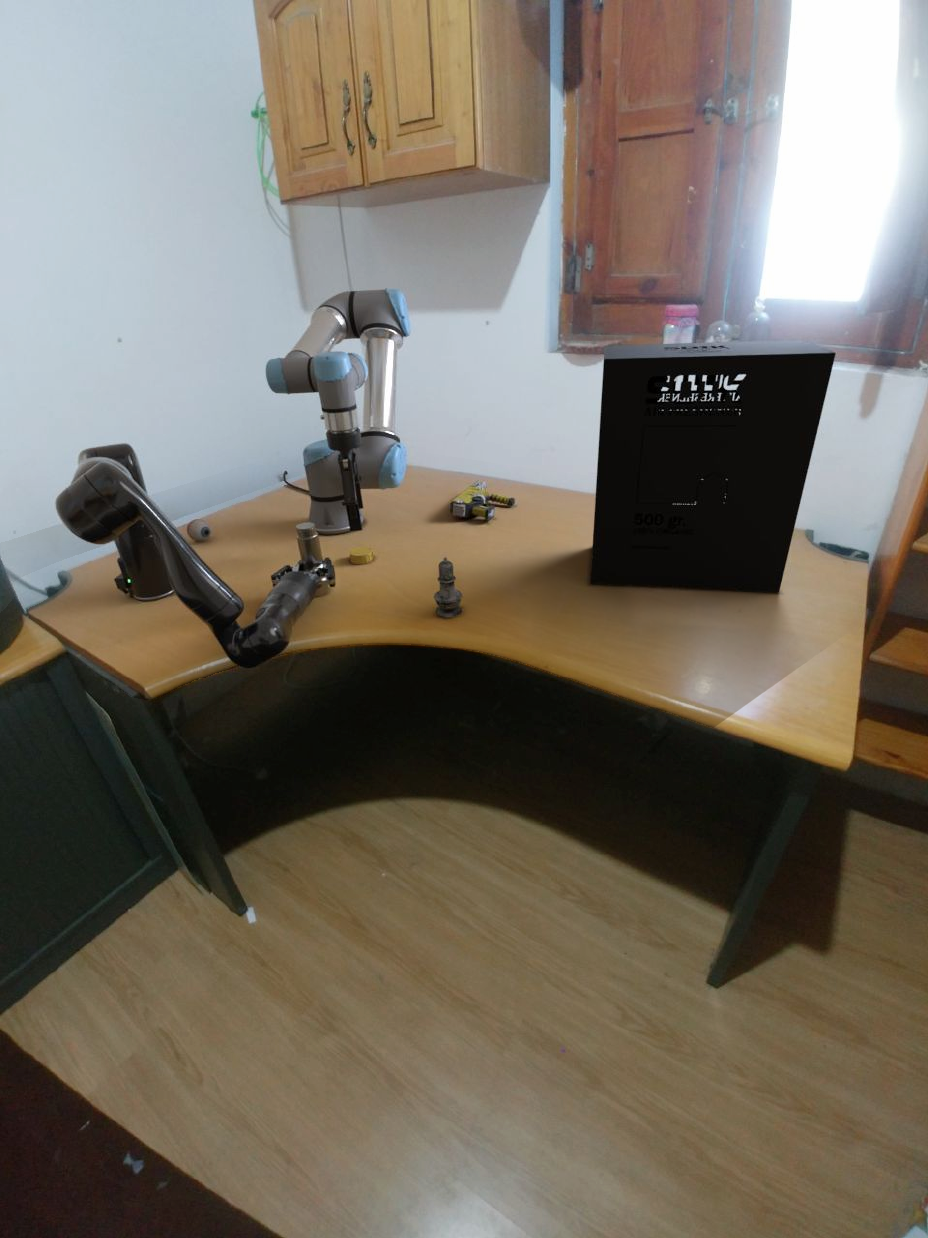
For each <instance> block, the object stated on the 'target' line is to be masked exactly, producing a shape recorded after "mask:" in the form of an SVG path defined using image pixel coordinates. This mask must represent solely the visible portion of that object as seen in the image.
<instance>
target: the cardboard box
mask: <svg viewBox="0 0 928 1238" xmlns="http://www.w3.org/2000/svg"><path fill="white" fill-rule="evenodd" d="M603 351H604V352H603V365H602V367H603V368H602V384H601V385H602V386H601V399H600V413H599V415H600V417H599V418H600V419H599V433H598V448H597V449H598V450H597V466H596V483H595V498H594V499H595V500H594V514H593V515H594V517H593V531H592V532H593V533H592V534H593V535H592V548H591V566H590V567H591V568H590V585H603V586H605V585H606V586H624V587H625V586H626V587H627V586H628V587H645V588H646V587H649V588H667V589H668V588H669V589H670V588H671V589H688V590H689V589H692V590H713V591H731V592H733V591H734V592H735V591H736V592H755V593H756V592H757V593H776V594H777V593H778V594H779V593H780V589H781V586H782V581H783V577H784V574H785V573H784V572H785V569H786V565H787V560H788V558H789V557H788V556H789V552H790V547H791V545H792V544H791V543H792V540H793V535H794V531H795V526H796V522H797V519H798V515H799V510H800V505H801V502H802V498H803V494H804V490H805V484H806V481H807V476H808V472H809V468H810V463H811V459H812V455H813V452H814V448H815V441H816V439H817V434H818V430H819V425H820V420H821V417H822V413H823V409H824V406H825V405H824V404H825V401H826V396H827V392H828V388H829V383H830V380H831V375H832V371H833V367H834V363H835V358H836V354H837V353H836V352H835V351H833V350H830V349H828V348H826V347H823V346H821V345H818V344H815V343H813V342H811V341H808V340H806V339H804V338H803V339H774V340H745V341H744V340H742V341H718V342H717V341H714V342H713V341H711V342H708V341H707V342H684V343H683V342H682V343H681V342H680V343H679V342H678V343H649V344H647V343H646V344H619V345H617V344H616V345H604V349H603ZM740 375H742V376H743V375H745V376H744V377H743V378H742V379H737V378H738V376H740ZM680 376H682V380H681V382H680V388H679V390H676V386H677V380H676V379H677V377H680ZM690 376H694V383H693V382H692V381H693V380H689V379H690ZM704 376H706V380H703V378H704ZM721 378H722V379H721ZM726 378H727V382H726V386H727V387H731V386H737V387H736V388H735V389H726V388H725V381H726ZM720 384H721V385H720ZM693 386H696V389H692V387H693ZM706 386H711V389H709V390H708V389H705V388H706ZM663 388H667V390H663Z"/></svg>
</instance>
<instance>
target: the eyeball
mask: <svg viewBox="0 0 928 1238" xmlns="http://www.w3.org/2000/svg"><path fill="white" fill-rule="evenodd" d="M186 533H187V535H188V537H189V538H190V539H191V540H192V541H194V542H205V541H207V540H208V539H209V538H210V537H211V534H212V527H211V524H210V523H209V522H207V520H204V519H201V518H195V519H193V520H191V521H190V522H189V523H187V527H186Z"/></svg>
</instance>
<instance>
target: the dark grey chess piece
mask: <svg viewBox="0 0 928 1238" xmlns="http://www.w3.org/2000/svg"><path fill="white" fill-rule="evenodd" d="M454 573H455V572H454V563H452V561H450V560H448V558H447V557H446V556H445V557H443V560H442V561H440V562H439V564H438V577H437V581H438V583H439V590H438V591H436V592H435V593H434V594H433V599H434V601H435V605H437V606H438V607H437V608H436V610H435V613H436V615H437V616H439V617H442V618H454V617H457V616H459V615H461V614H462V611H463V608H462V607H461V606H460V604H461V601H462V598H463V592H462V591H460V589H456V583H455V581H456V579H457V577H456V576H455V575H454Z"/></svg>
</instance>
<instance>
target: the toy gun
mask: <svg viewBox="0 0 928 1238" xmlns="http://www.w3.org/2000/svg"><path fill="white" fill-rule="evenodd" d="M486 487H487V482H486V481H485V480H483V481H482V482H481V480H477V481H476V482H474V483H473V484H472V485H469V486H468V487H467V488H466V489H465V490H463V491H462V492H461V493H460V494H459V495H457V496H456V497H455V498H454V499H453V500H451V502H450V503H449V504H450V505H449V513H450V515H451V516H454V518H458V519H459V518H460V519H461V518H471V517H474V516H477V517H481V518H485V521H487V522H488V521H490V520H491V519H493V518H494V517H495V511H496V509H495V508H496V507H495V506H494V505H492V504H491V505H490V506H489V505H488V504H487V503H489V502H490V501H491V502H492V503H499V504H502V505H507V506H508V507H513V506H514V505H515V503H516V499H515V498H514V497H511V496H509V497H508V496H506V495H505V496H504V495H501V494H497V493H491V495H490V494H489V492H488V491H487V489H485V488H486Z"/></svg>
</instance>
